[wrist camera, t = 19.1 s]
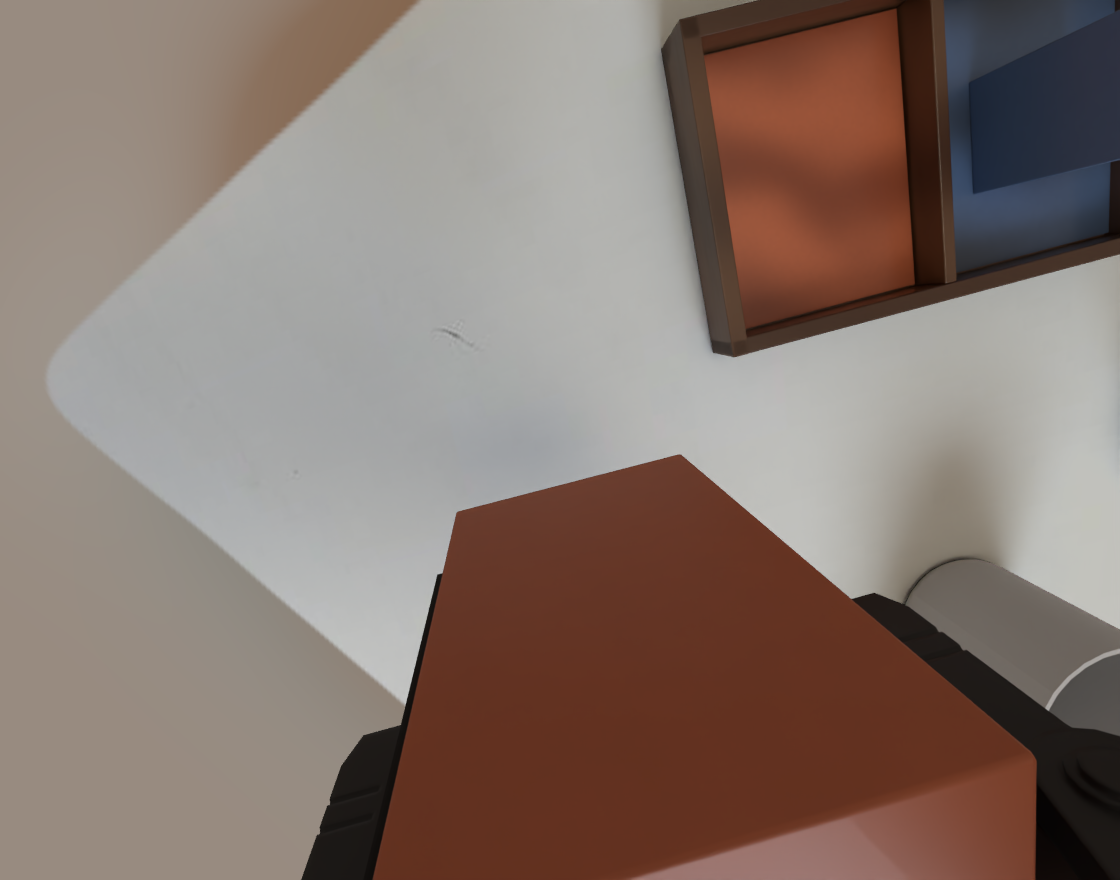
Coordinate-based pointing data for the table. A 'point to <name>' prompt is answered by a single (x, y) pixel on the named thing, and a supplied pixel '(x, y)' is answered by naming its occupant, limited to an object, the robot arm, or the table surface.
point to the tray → (863, 161)
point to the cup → (1028, 639)
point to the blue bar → (1049, 109)
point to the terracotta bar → (683, 710)
